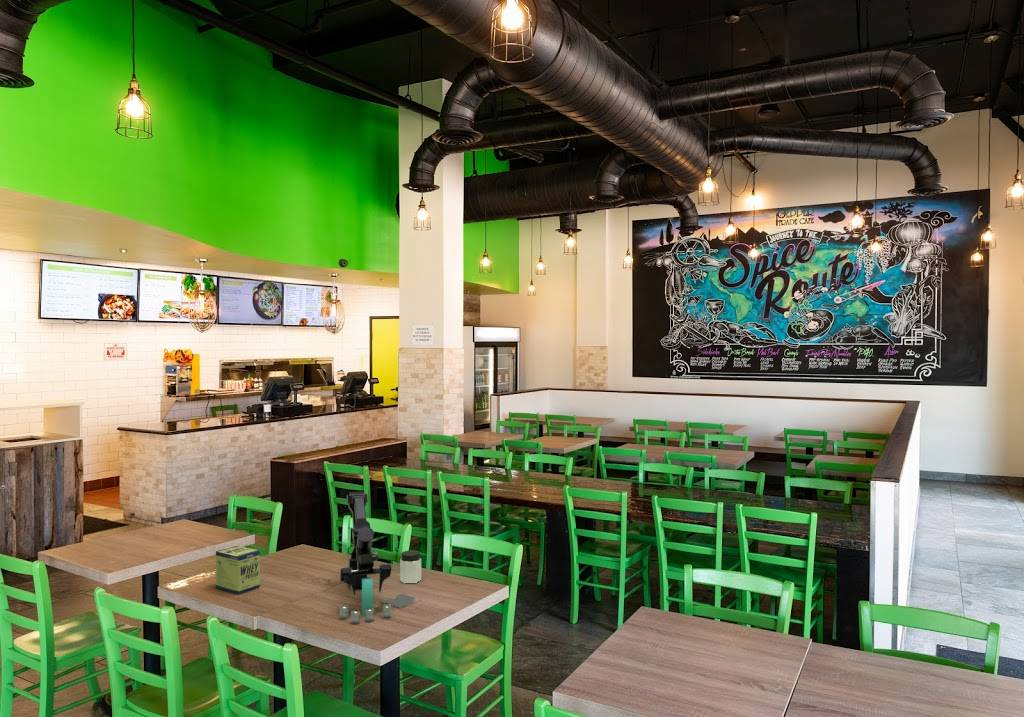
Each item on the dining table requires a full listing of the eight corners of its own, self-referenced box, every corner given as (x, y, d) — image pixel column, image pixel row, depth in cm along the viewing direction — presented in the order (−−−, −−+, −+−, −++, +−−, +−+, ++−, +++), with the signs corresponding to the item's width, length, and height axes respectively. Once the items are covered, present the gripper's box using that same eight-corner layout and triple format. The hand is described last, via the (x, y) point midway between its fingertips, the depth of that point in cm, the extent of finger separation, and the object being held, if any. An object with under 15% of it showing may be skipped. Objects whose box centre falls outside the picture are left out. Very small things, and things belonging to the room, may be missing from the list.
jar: (424, 581, 298) (424, 553, 298) (408, 585, 293) (407, 556, 293) (413, 576, 305) (413, 548, 305) (397, 580, 299) (396, 552, 299)
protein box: (239, 595, 282) (239, 556, 282) (214, 588, 290) (214, 550, 290) (260, 587, 291) (260, 550, 291) (236, 581, 299) (236, 545, 299)
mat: (380, 602, 272) (380, 601, 272) (401, 594, 281) (401, 593, 281) (400, 608, 266) (400, 607, 266) (421, 600, 275) (421, 599, 275)
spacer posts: (336, 618, 256) (336, 607, 256) (365, 607, 267) (365, 597, 267) (364, 628, 247) (364, 616, 247) (393, 616, 258) (393, 605, 258)
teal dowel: (359, 614, 260) (359, 579, 260) (368, 611, 263) (367, 576, 263) (367, 617, 257) (366, 581, 257) (375, 613, 260) (375, 578, 260)
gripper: (340, 546, 262) (342, 585, 251) (390, 542, 268) (395, 579, 257) (338, 562, 270) (341, 600, 259) (387, 557, 275) (392, 594, 265)
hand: (367, 593), depth 260 cm, fingers open, 9 cm apart
